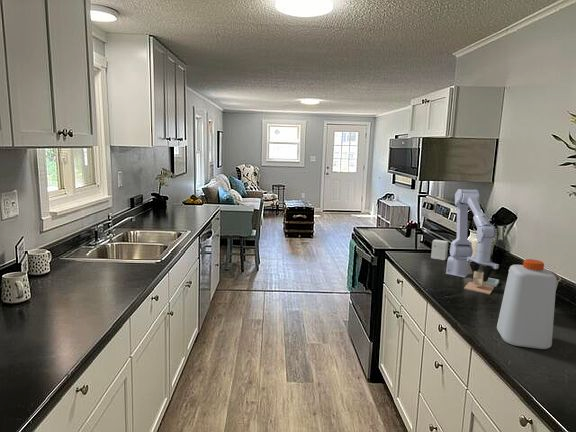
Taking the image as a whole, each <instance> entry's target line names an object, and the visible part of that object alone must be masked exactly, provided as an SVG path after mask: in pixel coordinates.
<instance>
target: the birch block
mask: <svg viewBox="0 0 576 432" xmlns="http://www.w3.org/2000/svg"><path fill="white" fill-rule="evenodd" d="M483 278H484V270H480V269H479V270H478V271H474V276H473V275H472V282H473V284H475V285H478V286H481V287H482V286H485V285H487V282H489V281H488V280H487V281H486V282H484V281H483ZM487 286H488V285H487Z"/></svg>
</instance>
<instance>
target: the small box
mask: <svg viewBox="0 0 576 432" xmlns="http://www.w3.org/2000/svg"><path fill="white" fill-rule="evenodd" d="M431 242H432V243H431V253H430V254H431V256H430V258H431V259H435V260H441V261H446V260H447V259H448V249H449V248H448V247H449V241H448V240H442V239H433V240H432V241H431Z"/></svg>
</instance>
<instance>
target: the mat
mask: <svg viewBox="0 0 576 432" xmlns="http://www.w3.org/2000/svg"><path fill="white" fill-rule="evenodd" d="M463 289H464V290H468V291H471V292H476V293H482V294H486V295H491V294H492V292H493V290H494V289H495V287H494V286H489V285H485V286H482V287H481V286H478V285H475V284H473V281H468V282H467V284H466V285H465V286H464V287H463Z"/></svg>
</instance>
